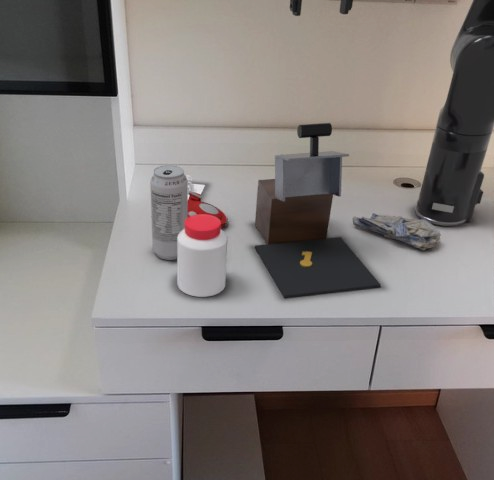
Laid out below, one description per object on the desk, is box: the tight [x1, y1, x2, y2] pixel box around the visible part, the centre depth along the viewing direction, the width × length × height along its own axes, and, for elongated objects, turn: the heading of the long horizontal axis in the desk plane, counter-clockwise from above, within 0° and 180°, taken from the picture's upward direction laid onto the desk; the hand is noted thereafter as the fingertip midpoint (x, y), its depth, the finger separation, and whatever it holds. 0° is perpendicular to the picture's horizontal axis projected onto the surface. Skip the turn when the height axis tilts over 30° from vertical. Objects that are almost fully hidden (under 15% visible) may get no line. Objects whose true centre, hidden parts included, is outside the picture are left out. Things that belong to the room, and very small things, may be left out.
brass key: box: [300, 251, 312, 267], centre depth 103 cm, size 5×2×1 cm, turn 163°
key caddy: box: [274, 122, 350, 202], centre depth 99 cm, size 12×10×6 cm
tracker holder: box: [188, 191, 228, 229], centre depth 115 cm, size 12×4×10 cm
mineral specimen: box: [352, 213, 442, 251], centre depth 111 cm, size 15×8×4 cm, turn 38°
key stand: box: [254, 178, 334, 244], centre depth 110 cm, size 8×11×9 cm
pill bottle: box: [176, 214, 229, 298], centre depth 95 cm, size 8×8×11 cm
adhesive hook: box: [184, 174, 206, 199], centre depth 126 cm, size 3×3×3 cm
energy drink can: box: [149, 164, 188, 261], centre depth 102 cm, size 6×6×15 cm
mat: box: [254, 236, 382, 299], centre depth 103 cm, size 16×16×1 cm
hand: (320, 14), depth 104 cm, fingers open, 8 cm apart
